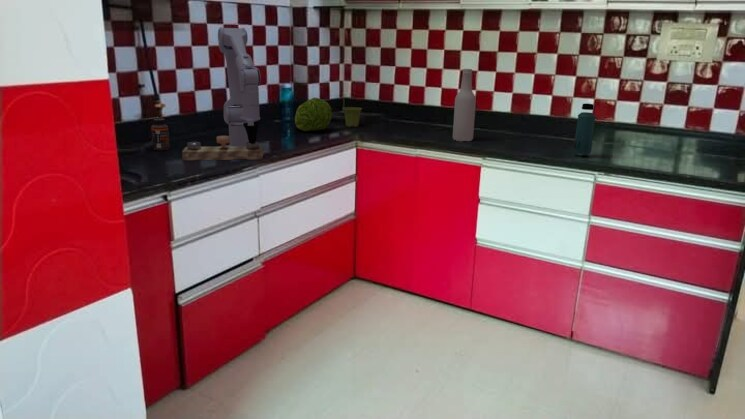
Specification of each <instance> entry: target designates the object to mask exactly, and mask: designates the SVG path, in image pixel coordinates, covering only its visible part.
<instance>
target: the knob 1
mask: <svg viewBox="0 0 745 419" xmlns="http://www.w3.org/2000/svg"><path fill="white" fill-rule="evenodd" d="M201 143H202V142H200V141H189V142H187V147H188V149H189V150H198V149H201V147H202V144H201Z"/></svg>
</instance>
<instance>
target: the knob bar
mask: <svg viewBox="0 0 745 419" xmlns="http://www.w3.org/2000/svg"><path fill="white" fill-rule="evenodd" d="M181 154H182V155H181V156H182V161H222V160H223V161H230V160H231V161H232V160H233V159H247V160H263V159H264V147H263V145H259V149H255V150H250V149H246V146H227V145H226V148H221V145H220V146H219V145H218V146H201V149H198V150H189V149H188V146H185V147H184V148H183V150H182V151H181ZM233 161H234V160H233Z"/></svg>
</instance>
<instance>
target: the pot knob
mask: <svg viewBox="0 0 745 419" xmlns="http://www.w3.org/2000/svg"><path fill="white" fill-rule="evenodd" d="M216 143H217V144H220V146H221V148H226V146H227V144H230V137H229V135H217V136H216Z"/></svg>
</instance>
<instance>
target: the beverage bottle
mask: <svg viewBox="0 0 745 419" xmlns="http://www.w3.org/2000/svg"><path fill="white" fill-rule="evenodd" d="M594 108H595V106H594V104H593V103H587V102H586V103H582V106H581V110H584V111H585V110H586V111H585V112H584V111H582V112H580V113H579V114H577V123H576V128H575V137H574V138H575V139H574V143H573V150H572V151H573V152H574V153H575V154H582V155H589V154H591V153H592V148H593V138H594V128H595V122H596V114H594V113H593V112H588V111H593V110H594Z"/></svg>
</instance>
